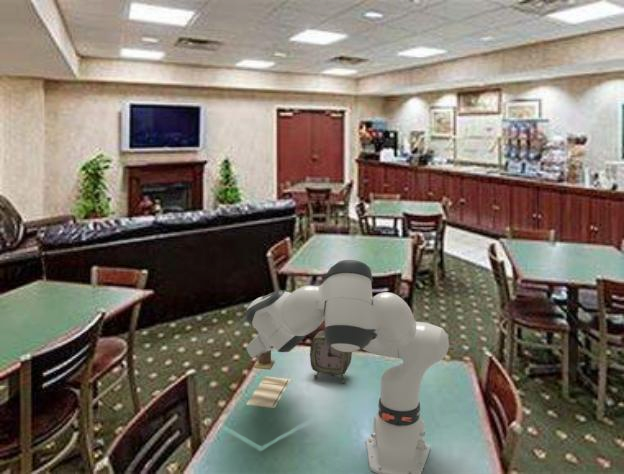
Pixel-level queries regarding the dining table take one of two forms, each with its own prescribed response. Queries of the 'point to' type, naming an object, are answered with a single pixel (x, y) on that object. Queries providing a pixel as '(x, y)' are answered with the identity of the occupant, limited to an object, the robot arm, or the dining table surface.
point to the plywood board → (268, 392)
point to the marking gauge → (265, 361)
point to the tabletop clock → (328, 358)
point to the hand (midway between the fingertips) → (263, 351)
